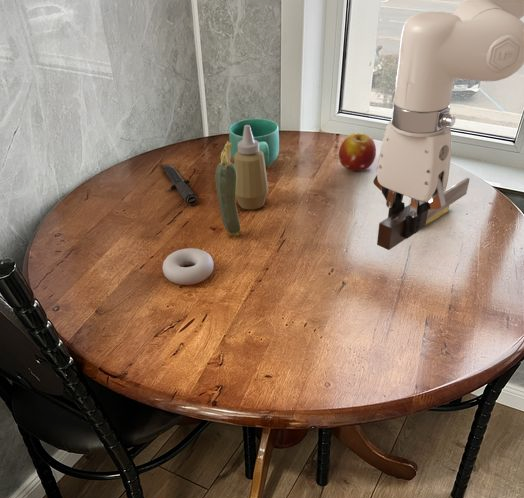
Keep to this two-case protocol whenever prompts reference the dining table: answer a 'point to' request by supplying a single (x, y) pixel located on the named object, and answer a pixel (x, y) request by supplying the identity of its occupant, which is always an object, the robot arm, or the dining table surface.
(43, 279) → the dining table surface
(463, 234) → the dining table surface
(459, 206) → the dining table surface
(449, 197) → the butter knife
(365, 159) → the fruit
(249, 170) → the squeeze bottle
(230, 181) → the vegetable
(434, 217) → the butter
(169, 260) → the donut
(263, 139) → the mug
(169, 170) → the knife
